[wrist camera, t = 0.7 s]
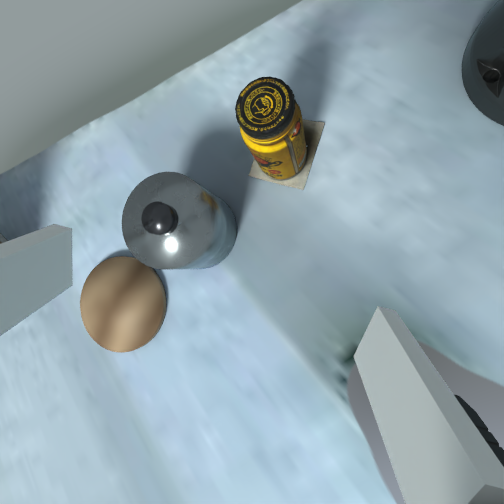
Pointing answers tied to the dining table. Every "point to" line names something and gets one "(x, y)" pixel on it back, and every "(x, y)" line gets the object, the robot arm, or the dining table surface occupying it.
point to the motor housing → (177, 224)
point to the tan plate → (123, 304)
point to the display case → (2, 239)
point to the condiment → (276, 132)
